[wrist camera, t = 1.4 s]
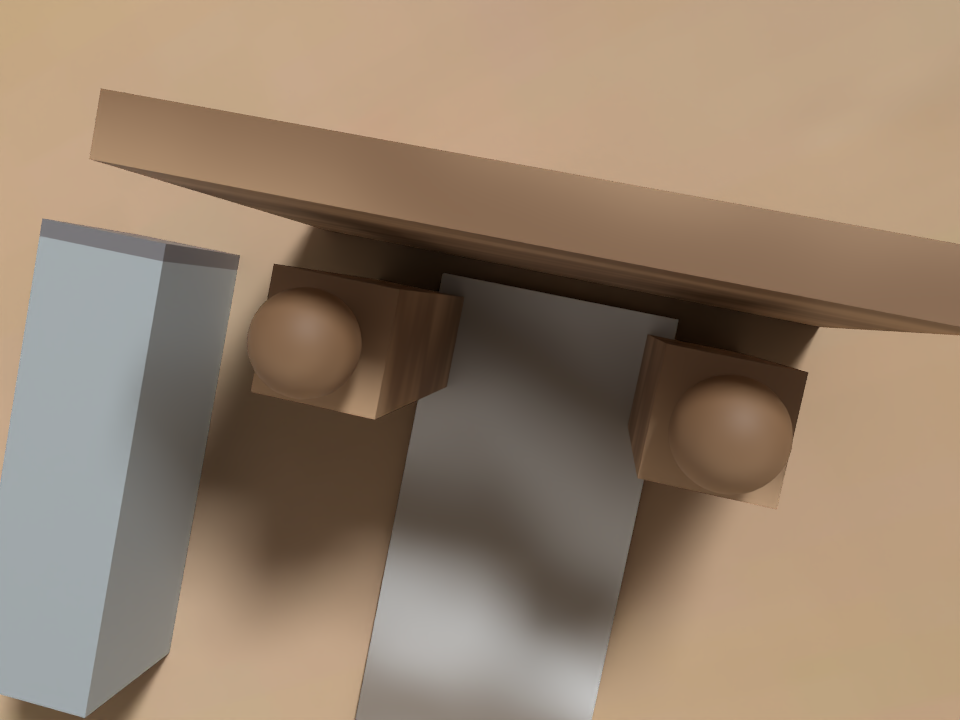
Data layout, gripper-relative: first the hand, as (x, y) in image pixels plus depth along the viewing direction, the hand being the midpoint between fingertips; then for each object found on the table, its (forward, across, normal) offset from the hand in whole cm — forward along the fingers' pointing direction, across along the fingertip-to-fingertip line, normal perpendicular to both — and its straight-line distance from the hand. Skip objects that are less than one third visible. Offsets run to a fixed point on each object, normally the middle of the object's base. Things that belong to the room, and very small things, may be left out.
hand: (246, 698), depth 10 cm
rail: (+25, +11, +9) cm, 29 cm away
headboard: (+23, -4, +7) cm, 25 cm away
